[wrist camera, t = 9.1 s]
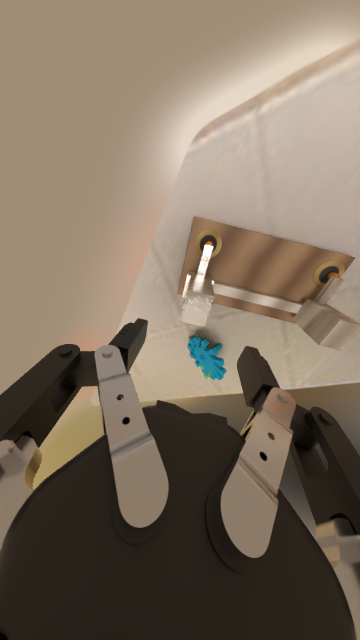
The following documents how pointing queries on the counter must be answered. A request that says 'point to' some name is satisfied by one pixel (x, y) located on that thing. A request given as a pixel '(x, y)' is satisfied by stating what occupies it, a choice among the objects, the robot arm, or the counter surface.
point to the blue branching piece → (207, 358)
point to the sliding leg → (198, 292)
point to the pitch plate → (273, 278)
